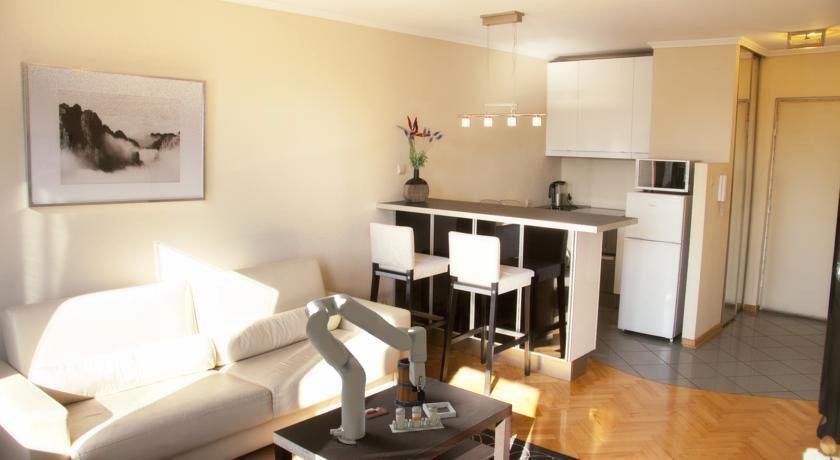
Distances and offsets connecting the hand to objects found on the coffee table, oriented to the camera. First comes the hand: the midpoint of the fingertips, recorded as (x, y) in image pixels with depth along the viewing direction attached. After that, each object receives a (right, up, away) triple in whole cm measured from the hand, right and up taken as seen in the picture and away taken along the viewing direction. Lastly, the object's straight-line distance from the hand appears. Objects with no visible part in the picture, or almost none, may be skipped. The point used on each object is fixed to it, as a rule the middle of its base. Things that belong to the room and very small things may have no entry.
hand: (418, 396), depth 279 cm
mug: (-5, -11, +33) cm, 35 cm away
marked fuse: (-1, -13, +2) cm, 13 cm away
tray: (+9, -13, +16) cm, 23 cm away
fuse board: (-1, -15, +2) cm, 15 cm away
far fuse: (+6, -13, +3) cm, 15 cm away
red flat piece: (-23, -14, +13) cm, 30 cm away
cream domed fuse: (-8, -13, 0) cm, 15 cm away
